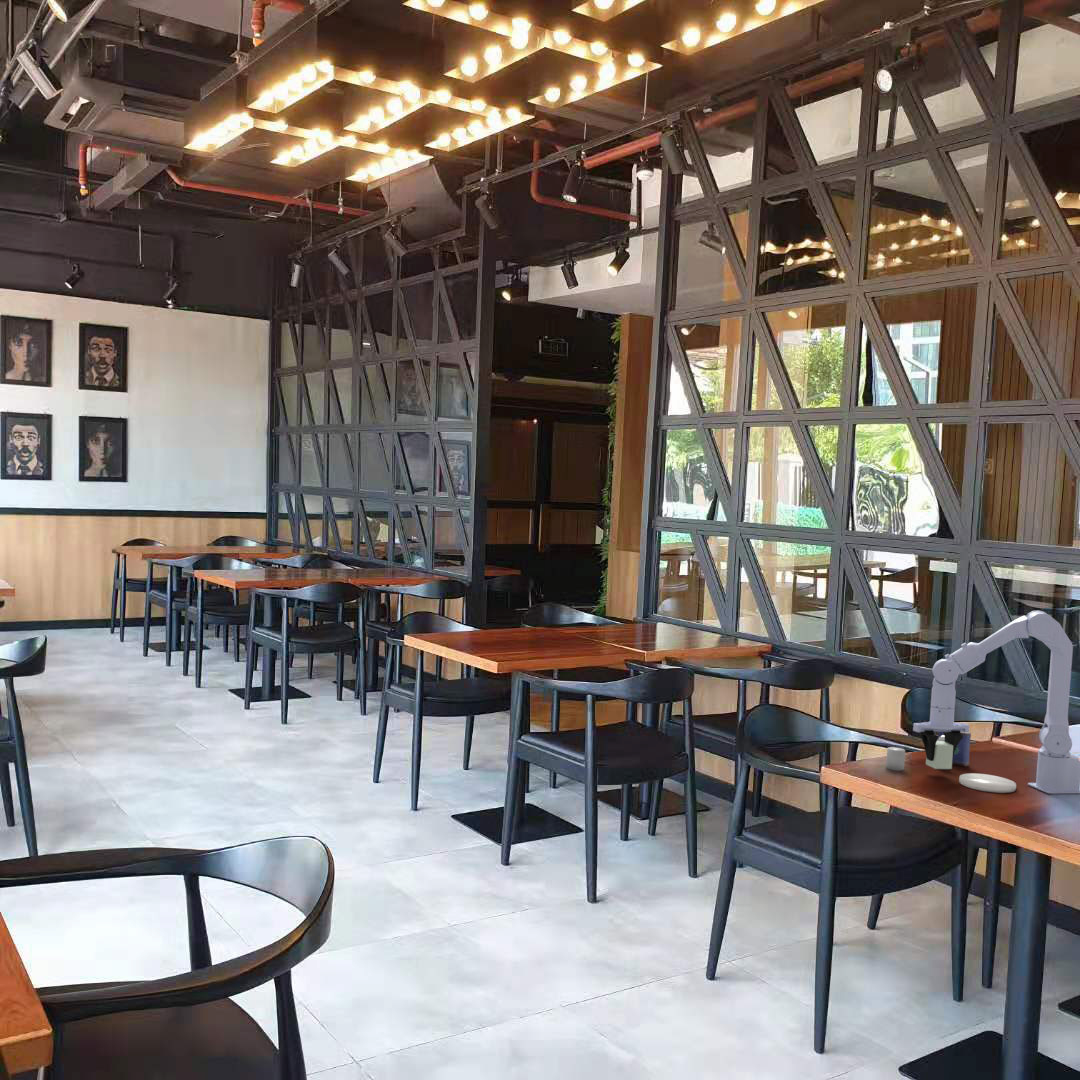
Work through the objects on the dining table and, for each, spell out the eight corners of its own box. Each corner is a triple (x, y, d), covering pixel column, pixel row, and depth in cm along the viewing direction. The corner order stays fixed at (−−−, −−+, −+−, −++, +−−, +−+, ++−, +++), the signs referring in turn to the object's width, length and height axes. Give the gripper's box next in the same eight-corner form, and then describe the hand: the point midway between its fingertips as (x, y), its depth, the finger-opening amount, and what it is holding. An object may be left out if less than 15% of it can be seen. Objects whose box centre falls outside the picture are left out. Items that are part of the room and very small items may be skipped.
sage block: (941, 764, 277) (943, 741, 277) (951, 768, 272) (953, 745, 272) (925, 764, 276) (927, 741, 276) (935, 769, 272) (937, 745, 271)
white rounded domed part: (898, 766, 282) (899, 747, 282) (907, 770, 278) (908, 751, 278) (882, 766, 281) (884, 747, 281) (891, 770, 277) (892, 751, 277)
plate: (994, 778, 275) (995, 773, 275) (1027, 792, 262) (1027, 787, 262) (948, 778, 272) (949, 773, 272) (979, 792, 259) (979, 788, 259)
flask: (970, 765, 287) (973, 726, 286) (964, 767, 285) (967, 727, 284) (939, 758, 294) (941, 719, 293) (933, 759, 292) (935, 720, 292)
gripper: (959, 703, 279) (955, 755, 279) (908, 703, 276) (904, 755, 277) (975, 709, 272) (971, 762, 273) (923, 709, 269) (919, 762, 270)
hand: (939, 759), depth 274 cm, fingers closed on sage block, 4 cm apart
